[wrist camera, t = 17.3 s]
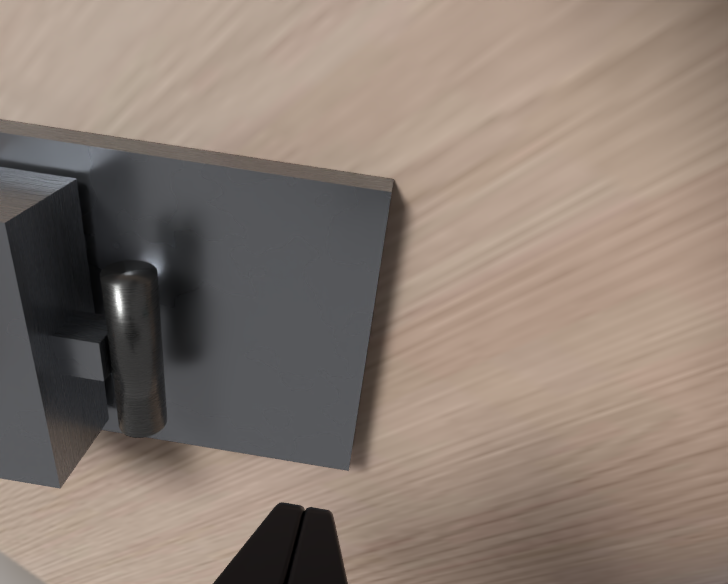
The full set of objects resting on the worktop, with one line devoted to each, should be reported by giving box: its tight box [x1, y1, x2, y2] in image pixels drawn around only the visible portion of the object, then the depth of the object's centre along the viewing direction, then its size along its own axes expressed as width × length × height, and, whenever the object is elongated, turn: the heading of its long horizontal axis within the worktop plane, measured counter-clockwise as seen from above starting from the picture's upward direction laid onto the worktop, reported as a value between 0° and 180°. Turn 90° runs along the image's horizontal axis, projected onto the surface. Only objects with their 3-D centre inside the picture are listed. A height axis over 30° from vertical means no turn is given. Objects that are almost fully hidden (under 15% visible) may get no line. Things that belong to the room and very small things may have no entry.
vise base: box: [0, 119, 394, 471], centre depth 20 cm, size 22×12×5 cm, turn 83°
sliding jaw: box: [0, 167, 167, 488], centre depth 19 cm, size 6×10×4 cm, turn 173°
